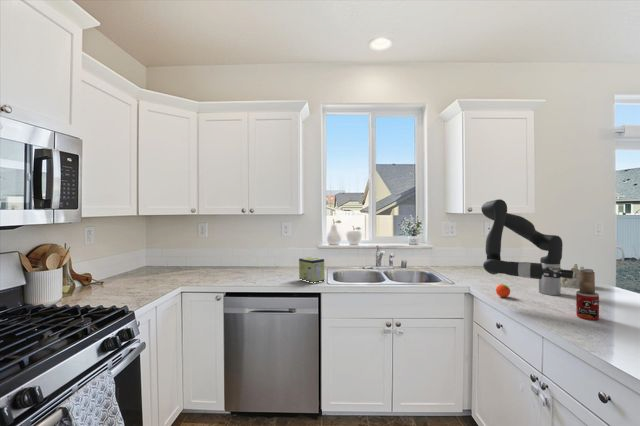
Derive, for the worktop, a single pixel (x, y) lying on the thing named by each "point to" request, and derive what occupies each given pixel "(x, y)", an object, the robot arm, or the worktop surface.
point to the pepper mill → (587, 281)
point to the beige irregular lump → (572, 279)
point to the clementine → (503, 290)
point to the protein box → (311, 269)
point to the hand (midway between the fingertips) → (573, 274)
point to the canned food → (587, 306)
